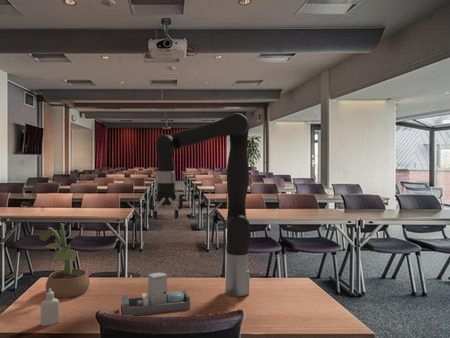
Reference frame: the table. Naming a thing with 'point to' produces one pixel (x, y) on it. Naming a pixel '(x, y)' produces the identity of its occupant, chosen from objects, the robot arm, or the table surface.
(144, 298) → the spring paddle
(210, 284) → the table surface
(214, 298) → the table surface
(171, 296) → the teal jar
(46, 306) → the eye dropper bottle
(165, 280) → the skincare box
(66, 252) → the potted plant
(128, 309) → the pusher lane
